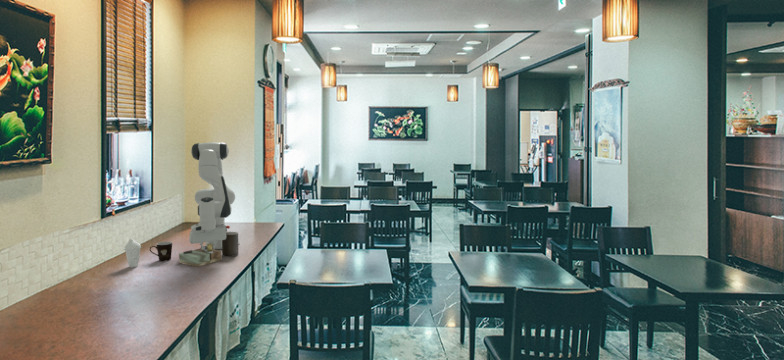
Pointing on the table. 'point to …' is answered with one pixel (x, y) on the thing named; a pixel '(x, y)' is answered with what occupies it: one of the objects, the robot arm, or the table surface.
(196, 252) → the door board
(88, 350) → the table surface
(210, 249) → the bar
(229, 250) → the pillar candle
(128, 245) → the soft serve ice cream cone
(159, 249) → the coffee mug
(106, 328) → the table surface
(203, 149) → the robot arm
